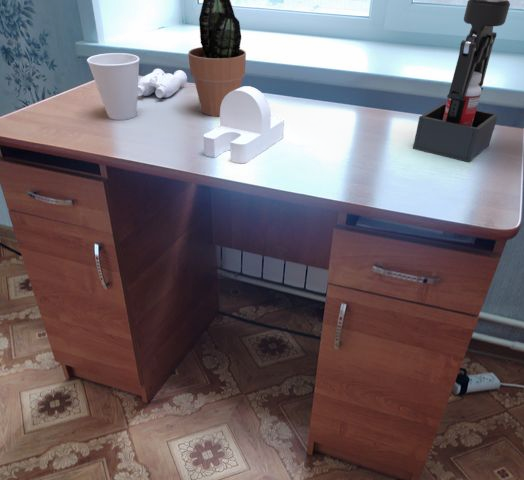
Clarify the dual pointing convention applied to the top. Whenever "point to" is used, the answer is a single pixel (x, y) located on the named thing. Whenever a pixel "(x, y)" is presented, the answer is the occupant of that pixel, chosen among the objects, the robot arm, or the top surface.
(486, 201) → the top surface
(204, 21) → the potted plant
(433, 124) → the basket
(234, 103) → the bracket
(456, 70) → the robot arm
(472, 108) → the pill bottle
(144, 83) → the binoculars
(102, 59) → the cup
